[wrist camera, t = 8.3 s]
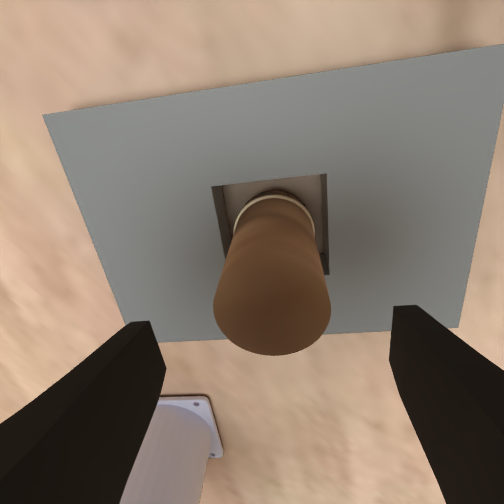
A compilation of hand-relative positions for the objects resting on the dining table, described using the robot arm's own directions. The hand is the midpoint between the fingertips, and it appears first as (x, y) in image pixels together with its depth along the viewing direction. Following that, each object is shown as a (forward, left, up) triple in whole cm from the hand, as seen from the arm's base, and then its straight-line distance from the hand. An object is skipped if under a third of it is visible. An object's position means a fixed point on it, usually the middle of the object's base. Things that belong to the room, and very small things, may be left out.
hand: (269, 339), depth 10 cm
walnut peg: (0, 0, -10) cm, 10 cm away
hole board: (0, 0, -10) cm, 10 cm away
